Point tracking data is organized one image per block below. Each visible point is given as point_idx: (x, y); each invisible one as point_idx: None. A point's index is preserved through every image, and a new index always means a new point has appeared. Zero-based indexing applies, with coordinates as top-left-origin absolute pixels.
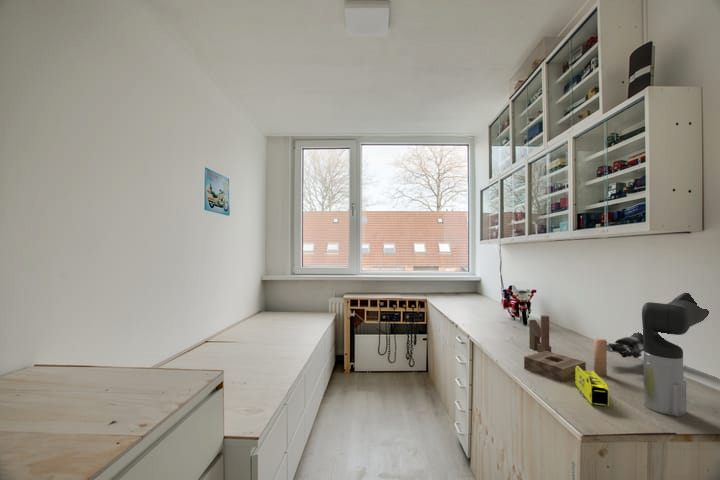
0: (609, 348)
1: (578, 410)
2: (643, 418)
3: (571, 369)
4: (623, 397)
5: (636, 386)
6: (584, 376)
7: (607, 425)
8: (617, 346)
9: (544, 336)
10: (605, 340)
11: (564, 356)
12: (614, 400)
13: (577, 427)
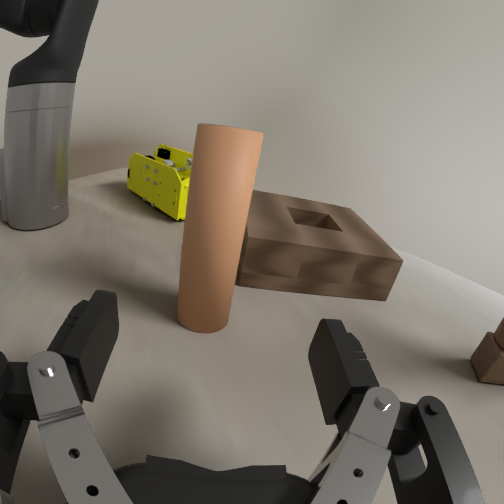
0: (321, 469)
1: None
2: (80, 189)
3: None
4: (105, 220)
5: (67, 286)
6: (174, 154)
7: (124, 173)
8: (240, 496)
9: None
10: (204, 125)
11: (330, 245)
12: (121, 207)
13: None
